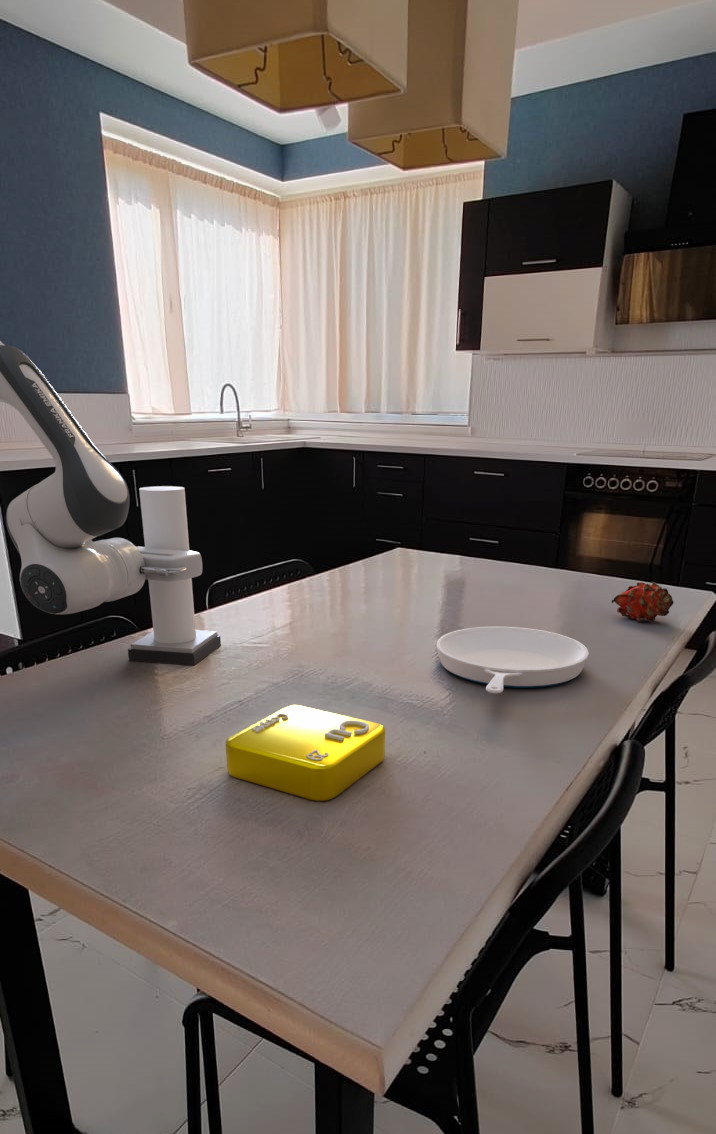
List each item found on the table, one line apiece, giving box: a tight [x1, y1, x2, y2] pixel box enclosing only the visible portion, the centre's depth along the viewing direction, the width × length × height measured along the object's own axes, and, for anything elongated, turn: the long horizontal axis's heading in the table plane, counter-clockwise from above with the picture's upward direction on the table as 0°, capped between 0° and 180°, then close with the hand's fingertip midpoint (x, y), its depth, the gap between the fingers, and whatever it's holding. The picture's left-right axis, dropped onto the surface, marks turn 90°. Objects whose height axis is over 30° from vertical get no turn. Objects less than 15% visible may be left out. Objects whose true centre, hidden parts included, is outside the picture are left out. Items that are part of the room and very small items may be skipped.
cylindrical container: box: [138, 485, 197, 644], centre depth 130 cm, size 7×7×25 cm
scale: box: [127, 629, 222, 666], centre depth 135 cm, size 12×12×3 cm
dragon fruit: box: [611, 581, 675, 623], centre depth 158 cm, size 8×8×12 cm
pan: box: [435, 625, 590, 694], centre depth 123 cm, size 25×38×5 cm, turn 164°
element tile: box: [224, 704, 386, 802], centre depth 93 cm, size 15×15×5 cm
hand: (167, 553), depth 129 cm, fingers open, 8 cm apart
